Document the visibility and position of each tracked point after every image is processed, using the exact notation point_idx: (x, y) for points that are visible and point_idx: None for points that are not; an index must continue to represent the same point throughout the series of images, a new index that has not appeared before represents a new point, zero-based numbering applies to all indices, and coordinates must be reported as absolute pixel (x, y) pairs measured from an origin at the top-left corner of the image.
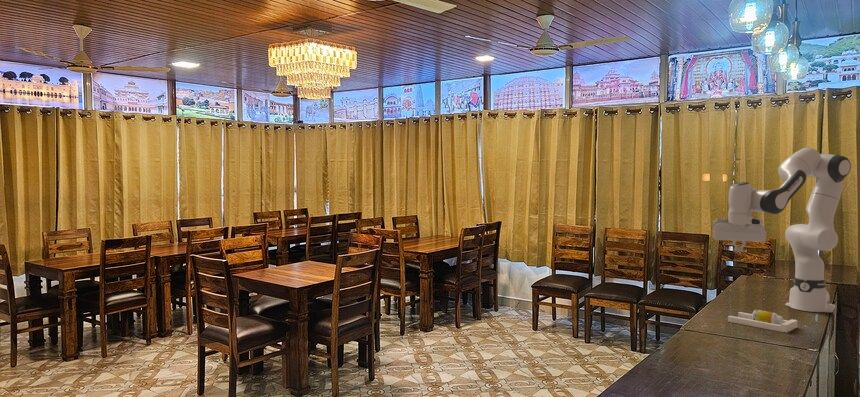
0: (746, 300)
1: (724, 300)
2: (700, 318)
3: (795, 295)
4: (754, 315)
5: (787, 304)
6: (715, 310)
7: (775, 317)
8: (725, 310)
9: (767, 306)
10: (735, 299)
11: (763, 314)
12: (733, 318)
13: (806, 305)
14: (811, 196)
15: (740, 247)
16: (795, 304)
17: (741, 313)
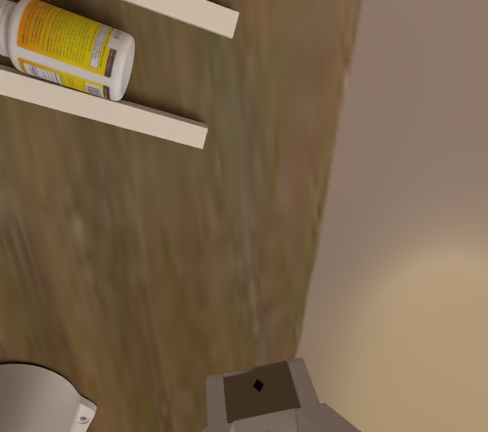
0: None
1: None
2: (349, 8)
3: (41, 426)
4: (119, 32)
5: (86, 404)
6: (296, 204)
7: (11, 14)
8: (262, 226)
9: (142, 363)
10: None
11: (71, 23)
12: (212, 3)
13: (7, 384)
14: None
15: (244, 419)
16: (50, 389)
17: (192, 124)
